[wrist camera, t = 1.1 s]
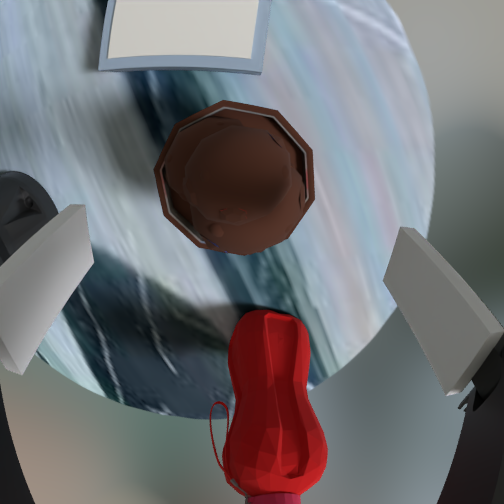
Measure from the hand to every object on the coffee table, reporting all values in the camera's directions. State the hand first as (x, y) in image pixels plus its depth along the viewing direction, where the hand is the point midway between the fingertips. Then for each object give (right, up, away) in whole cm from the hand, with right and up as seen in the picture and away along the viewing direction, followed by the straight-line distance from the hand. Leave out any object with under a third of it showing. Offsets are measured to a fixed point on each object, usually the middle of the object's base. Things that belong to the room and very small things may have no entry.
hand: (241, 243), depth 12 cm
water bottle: (+2, -11, +27) cm, 29 cm away
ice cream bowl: (-1, +9, +17) cm, 19 cm away
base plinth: (-5, +22, +9) cm, 25 cm away
